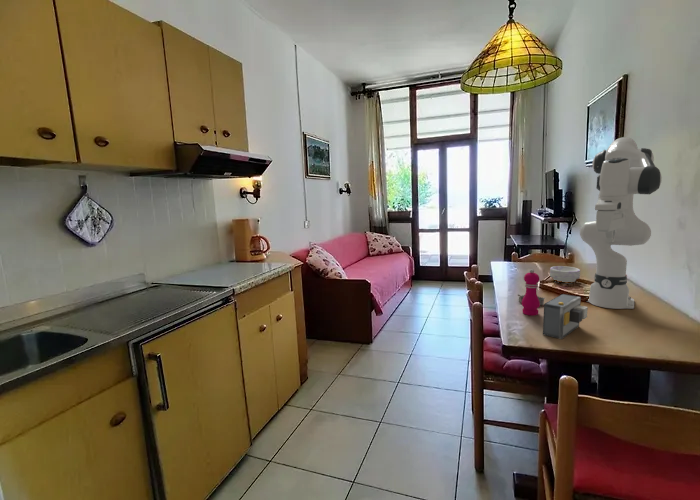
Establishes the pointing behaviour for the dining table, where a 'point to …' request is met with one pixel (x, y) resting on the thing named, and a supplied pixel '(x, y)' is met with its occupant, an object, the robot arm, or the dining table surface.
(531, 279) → the pepper mill
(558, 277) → the paper bowls
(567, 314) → the amber button
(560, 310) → the console
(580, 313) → the black button
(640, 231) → the robot arm
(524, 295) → the egg carton
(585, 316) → the white button
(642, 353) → the dining table surface
